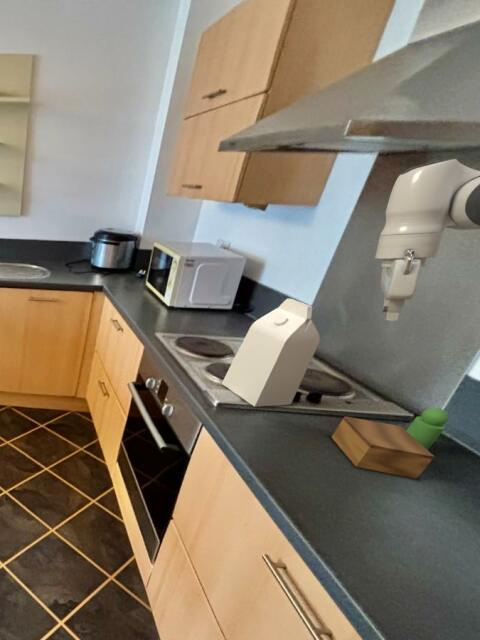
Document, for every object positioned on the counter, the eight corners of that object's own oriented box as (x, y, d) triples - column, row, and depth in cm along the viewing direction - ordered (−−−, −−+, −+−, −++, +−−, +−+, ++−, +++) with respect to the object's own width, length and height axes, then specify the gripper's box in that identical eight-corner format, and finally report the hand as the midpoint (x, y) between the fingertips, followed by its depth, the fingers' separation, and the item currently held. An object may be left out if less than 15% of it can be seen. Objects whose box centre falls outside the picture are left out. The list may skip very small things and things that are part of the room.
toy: (417, 443, 97) (445, 405, 92) (430, 455, 93) (461, 417, 88) (393, 438, 98) (420, 401, 93) (406, 450, 94) (435, 412, 89)
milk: (290, 404, 109) (341, 311, 96) (254, 406, 107) (301, 311, 94) (255, 381, 120) (297, 294, 107) (221, 383, 117) (260, 294, 104)
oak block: (385, 447, 95) (400, 426, 92) (416, 478, 86) (434, 456, 83) (331, 437, 97) (344, 416, 94) (355, 466, 88) (371, 444, 85)
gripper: (437, 249, 75) (416, 325, 79) (422, 248, 90) (405, 312, 94) (388, 250, 79) (371, 323, 83) (381, 249, 94) (367, 311, 98)
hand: (389, 317), depth 88 cm, fingers open, 8 cm apart
